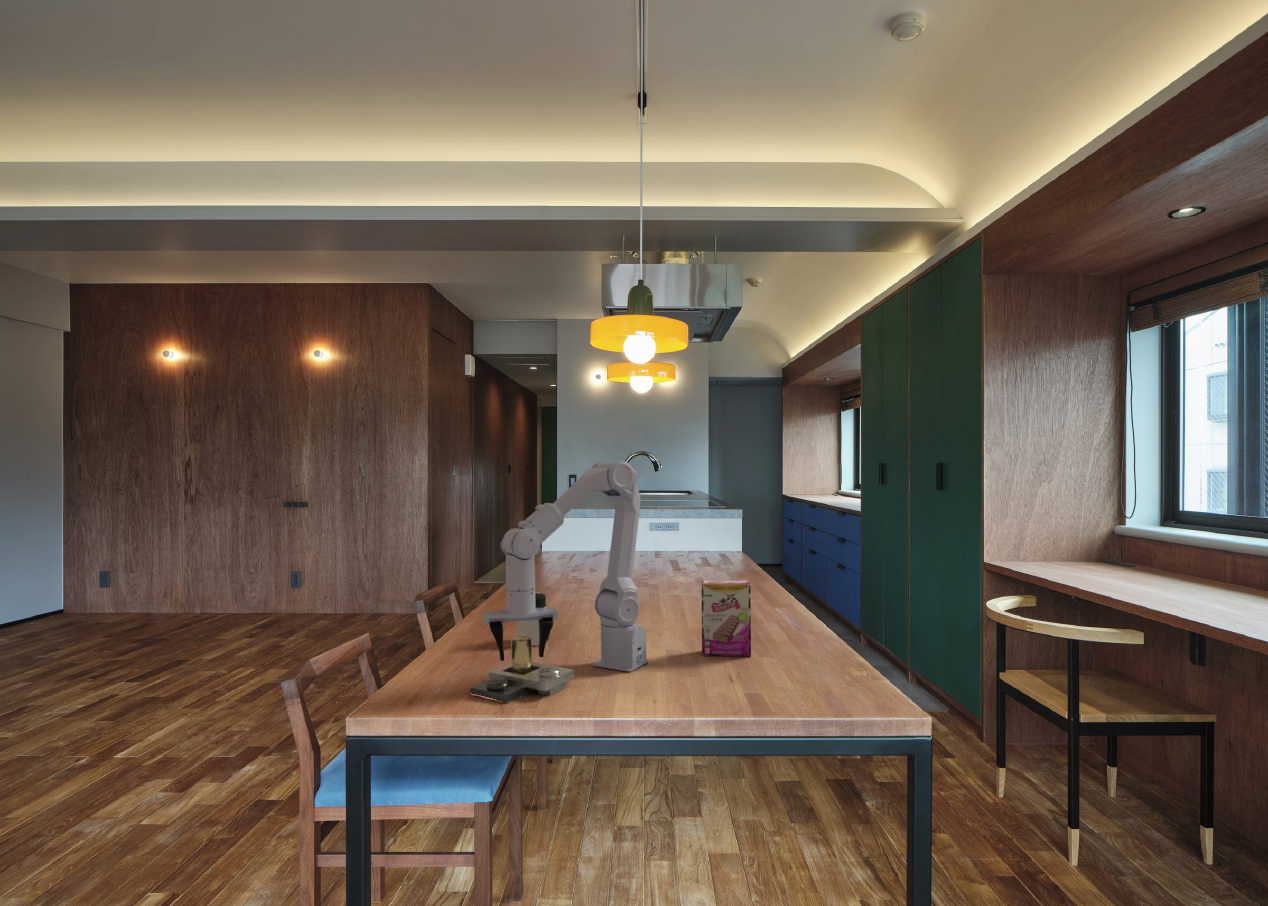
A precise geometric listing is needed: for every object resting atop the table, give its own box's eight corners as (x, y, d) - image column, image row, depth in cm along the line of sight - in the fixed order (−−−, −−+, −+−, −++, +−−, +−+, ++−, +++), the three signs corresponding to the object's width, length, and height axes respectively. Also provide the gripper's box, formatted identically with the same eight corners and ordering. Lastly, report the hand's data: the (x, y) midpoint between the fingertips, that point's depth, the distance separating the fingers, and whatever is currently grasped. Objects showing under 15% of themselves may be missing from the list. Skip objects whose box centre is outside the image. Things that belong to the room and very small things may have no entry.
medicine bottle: (546, 646, 155) (545, 596, 155) (516, 646, 155) (516, 596, 156) (550, 638, 162) (550, 590, 163) (522, 638, 162) (521, 591, 163)
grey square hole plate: (489, 687, 126) (488, 668, 126) (519, 674, 134) (519, 656, 134) (545, 699, 119) (545, 678, 119) (574, 684, 126) (573, 665, 127)
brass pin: (536, 682, 128) (535, 637, 128) (523, 688, 125) (522, 642, 125) (520, 679, 130) (520, 635, 130) (507, 685, 127) (506, 639, 127)
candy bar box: (702, 656, 144) (700, 583, 145) (701, 650, 149) (700, 579, 150) (752, 657, 143) (750, 583, 143) (750, 651, 148) (749, 579, 148)
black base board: (519, 674, 134) (519, 663, 134) (553, 681, 129) (553, 669, 129) (470, 695, 121) (470, 683, 122) (506, 703, 117) (506, 690, 117)
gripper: (554, 583, 134) (555, 648, 133) (482, 587, 130) (483, 655, 130) (559, 589, 127) (560, 658, 126) (483, 594, 123) (484, 665, 123)
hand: (521, 657), depth 128 cm, fingers open, 7 cm apart
